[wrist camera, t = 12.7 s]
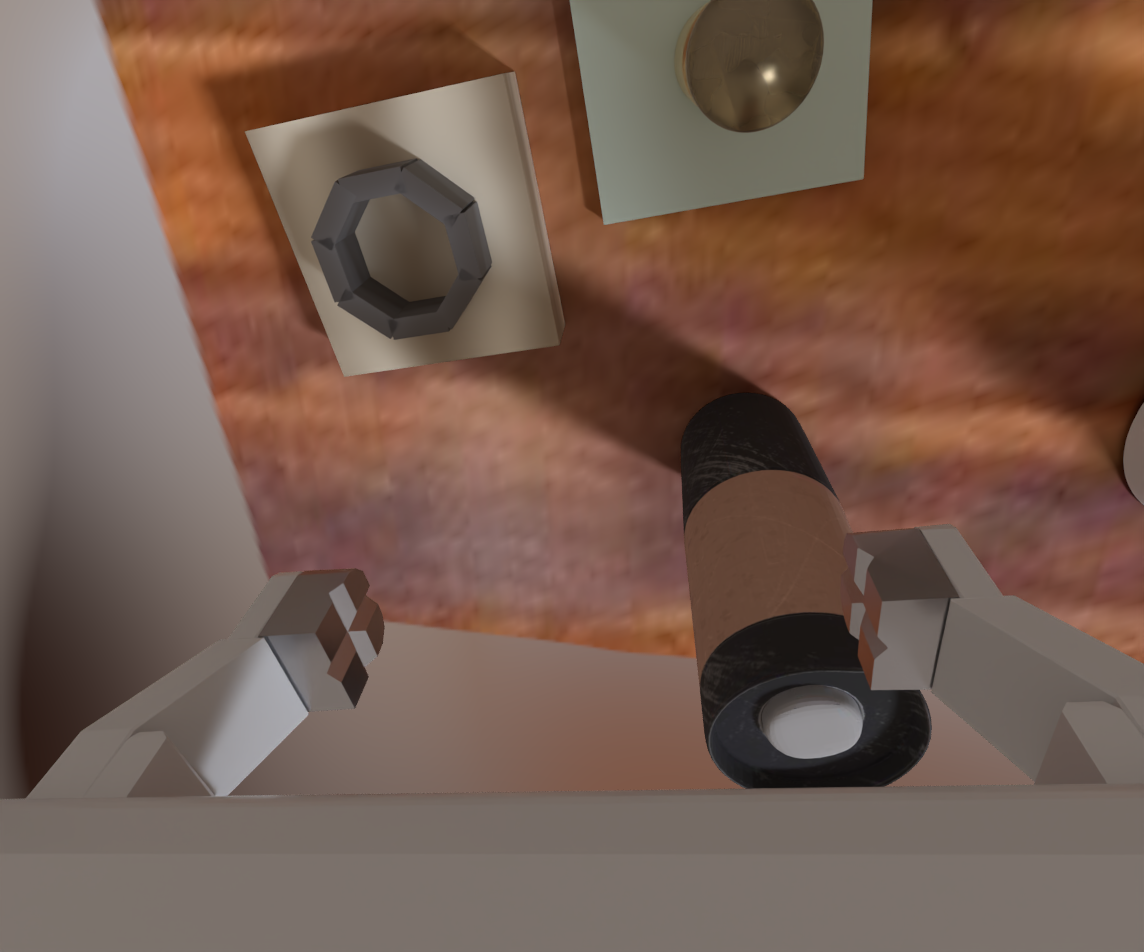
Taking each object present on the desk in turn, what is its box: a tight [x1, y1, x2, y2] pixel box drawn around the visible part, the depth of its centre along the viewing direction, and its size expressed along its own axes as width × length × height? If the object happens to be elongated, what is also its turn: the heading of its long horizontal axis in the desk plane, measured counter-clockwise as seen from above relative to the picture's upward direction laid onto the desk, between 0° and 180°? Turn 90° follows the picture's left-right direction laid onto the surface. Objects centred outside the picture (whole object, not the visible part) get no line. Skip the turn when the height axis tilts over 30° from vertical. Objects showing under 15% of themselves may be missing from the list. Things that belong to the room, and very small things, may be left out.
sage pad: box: [570, 0, 873, 225], centre depth 28 cm, size 12×12×1 cm
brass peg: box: [674, 0, 824, 133], centre depth 24 cm, size 4×4×9 cm
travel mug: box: [681, 393, 932, 789], centre depth 30 cm, size 8×8×20 cm
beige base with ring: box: [245, 72, 565, 377], centre depth 31 cm, size 12×12×6 cm
